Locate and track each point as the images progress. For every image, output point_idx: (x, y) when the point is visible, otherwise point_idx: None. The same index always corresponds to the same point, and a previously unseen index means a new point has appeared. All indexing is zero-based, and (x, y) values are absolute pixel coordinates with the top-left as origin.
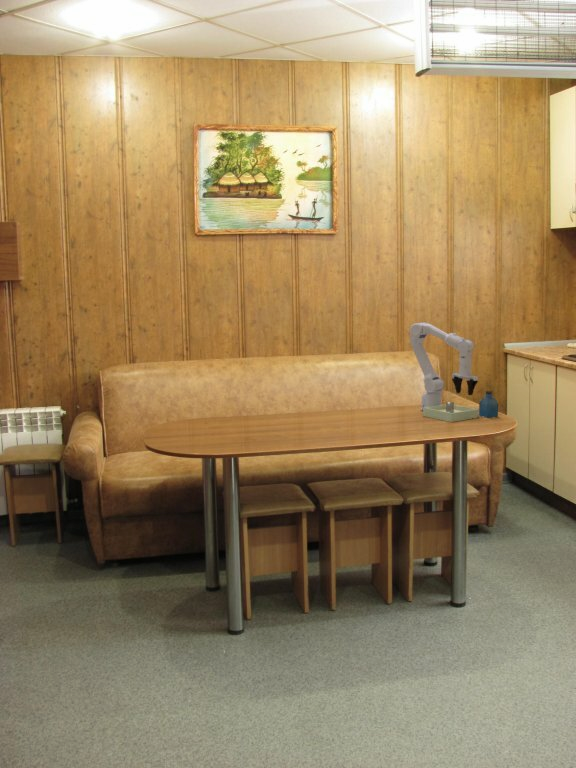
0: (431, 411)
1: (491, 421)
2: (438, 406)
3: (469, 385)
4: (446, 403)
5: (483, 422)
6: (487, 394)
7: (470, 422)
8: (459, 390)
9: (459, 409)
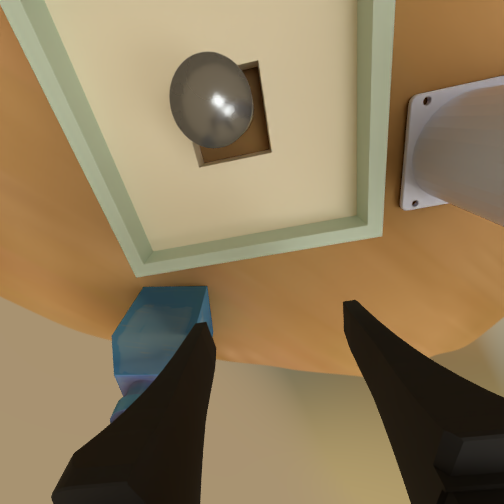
0: None
1: (46, 252)
2: (369, 86)
3: (134, 409)
4: (217, 55)
5: (18, 200)
6: (120, 408)
7: (19, 126)
8: (351, 339)
9: (275, 231)
